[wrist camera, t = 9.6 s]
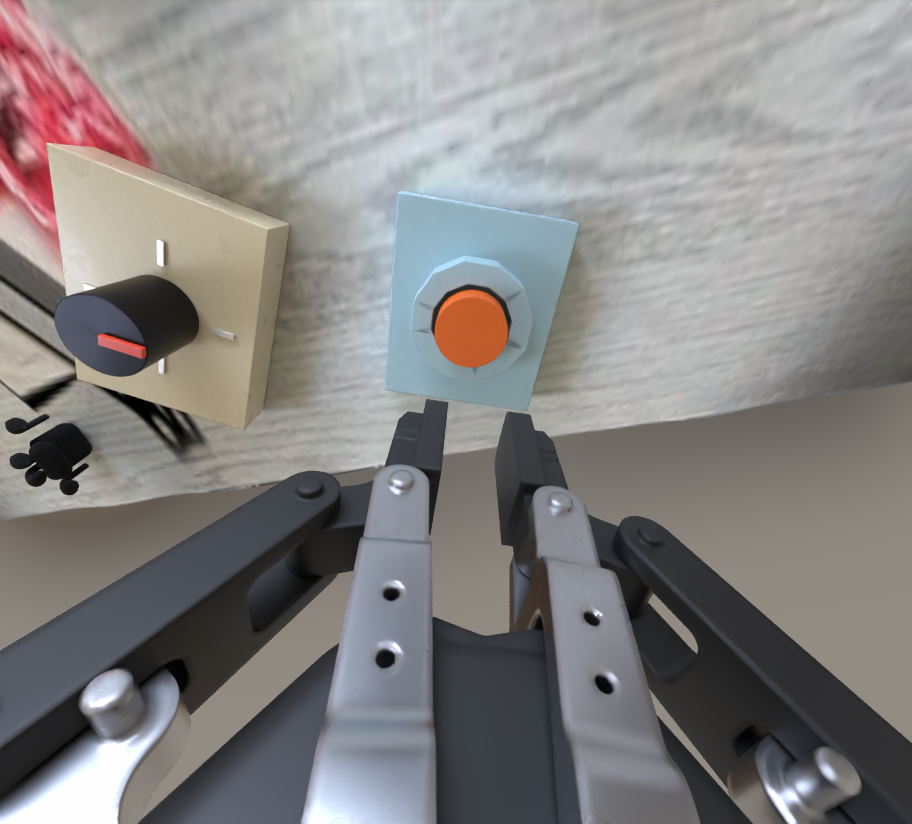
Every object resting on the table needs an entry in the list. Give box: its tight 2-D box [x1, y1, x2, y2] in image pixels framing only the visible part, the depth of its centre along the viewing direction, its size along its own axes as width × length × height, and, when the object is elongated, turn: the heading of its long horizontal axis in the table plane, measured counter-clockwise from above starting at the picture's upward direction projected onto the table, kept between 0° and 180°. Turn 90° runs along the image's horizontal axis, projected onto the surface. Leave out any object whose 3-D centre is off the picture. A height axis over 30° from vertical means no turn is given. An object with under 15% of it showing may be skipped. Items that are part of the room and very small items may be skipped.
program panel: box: [47, 143, 290, 430], centre depth 25 cm, size 14×11×3 cm
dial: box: [54, 275, 199, 377], centre depth 22 cm, size 4×4×5 cm
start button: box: [435, 289, 508, 368], centre depth 22 cm, size 4×4×2 cm
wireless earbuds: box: [5, 414, 92, 495], centre depth 30 cm, size 7×2×5 cm, turn 10°
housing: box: [384, 191, 580, 411], centre depth 24 cm, size 12×10×4 cm
